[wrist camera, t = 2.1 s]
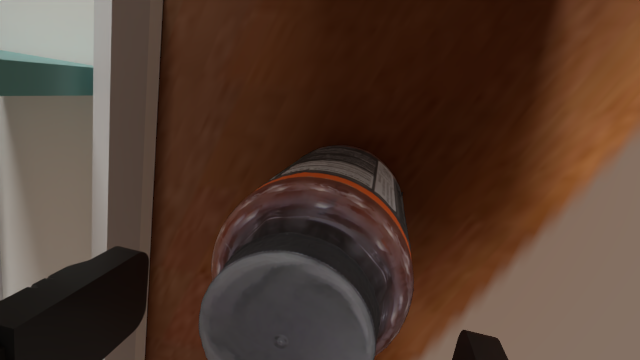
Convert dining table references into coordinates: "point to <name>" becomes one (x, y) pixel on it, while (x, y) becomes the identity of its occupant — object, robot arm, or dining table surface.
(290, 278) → the supplement bottle
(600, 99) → the dining table surface
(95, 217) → the lane
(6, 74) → the pusher
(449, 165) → the dining table surface
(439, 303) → the dining table surface
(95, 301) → the robot arm
